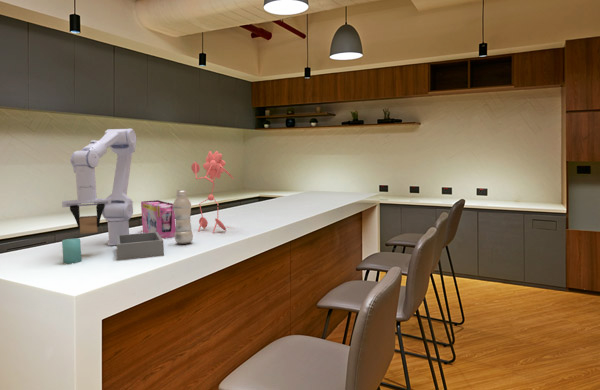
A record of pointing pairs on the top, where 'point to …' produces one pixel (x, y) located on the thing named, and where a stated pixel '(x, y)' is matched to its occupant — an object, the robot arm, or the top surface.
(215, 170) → the figurine
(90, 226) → the walnut cube
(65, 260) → the teal cylinder
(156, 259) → the top surface
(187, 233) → the plastic bottle
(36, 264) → the top surface
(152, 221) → the gum box
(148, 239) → the tote
